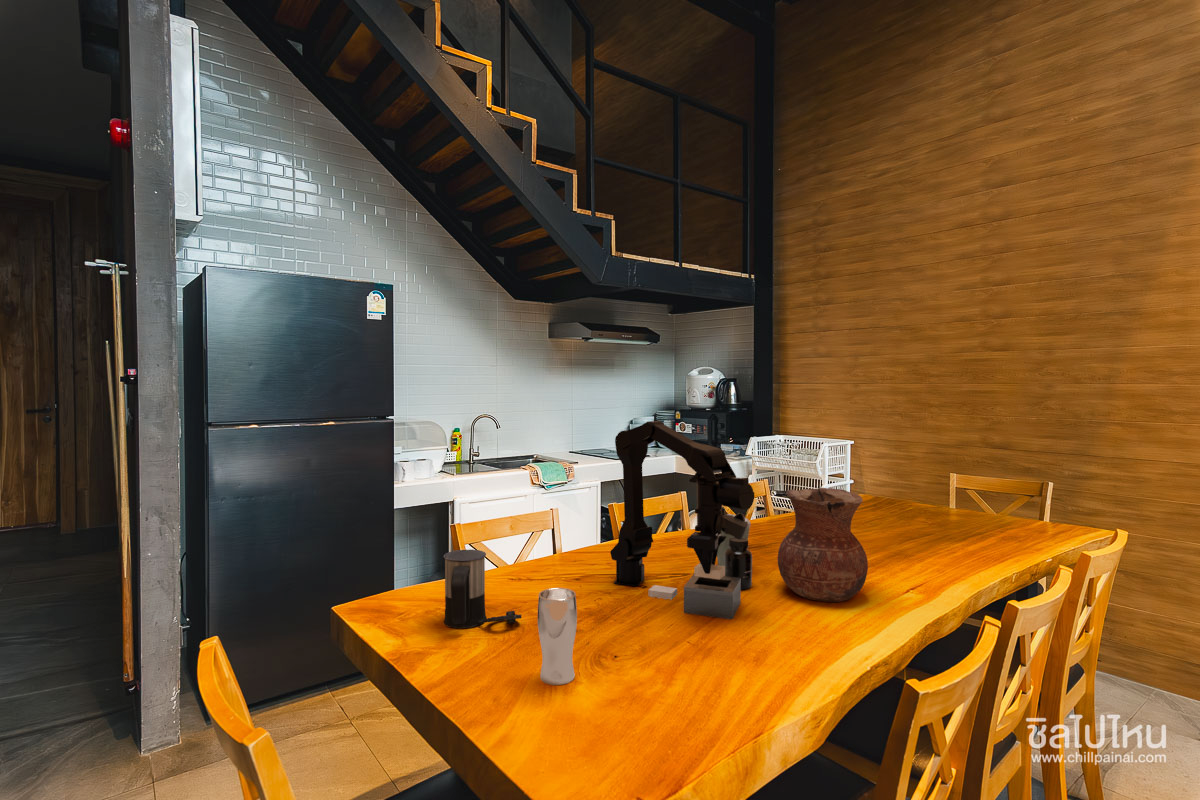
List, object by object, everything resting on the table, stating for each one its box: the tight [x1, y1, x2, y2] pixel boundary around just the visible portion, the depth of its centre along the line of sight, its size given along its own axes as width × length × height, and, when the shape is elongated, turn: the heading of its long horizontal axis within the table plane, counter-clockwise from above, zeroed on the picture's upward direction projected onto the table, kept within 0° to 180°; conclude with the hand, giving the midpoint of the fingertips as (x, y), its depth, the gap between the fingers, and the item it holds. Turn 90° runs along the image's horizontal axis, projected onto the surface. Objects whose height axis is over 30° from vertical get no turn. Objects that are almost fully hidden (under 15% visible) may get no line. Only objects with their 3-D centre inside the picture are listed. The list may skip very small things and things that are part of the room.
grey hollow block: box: [683, 573, 742, 620], centre depth 147 cm, size 11×11×6 cm
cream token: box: [693, 562, 725, 580], centre depth 147 cm, size 6×4×2 cm, turn 62°
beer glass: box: [537, 587, 578, 686], centre depth 113 cm, size 7×7×15 cm
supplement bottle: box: [724, 538, 753, 591], centre depth 163 cm, size 7×7×12 cm
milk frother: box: [443, 549, 522, 629], centre depth 138 cm, size 14×16×15 cm
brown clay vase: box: [776, 487, 869, 603], centre depth 157 cm, size 22×21×25 cm
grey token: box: [648, 584, 678, 601], centre depth 156 cm, size 6×4×2 cm, turn 64°
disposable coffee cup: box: [716, 513, 751, 566], centre depth 176 cm, size 11×11×15 cm
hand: (709, 570), depth 147 cm, fingers closed on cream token, 4 cm apart
